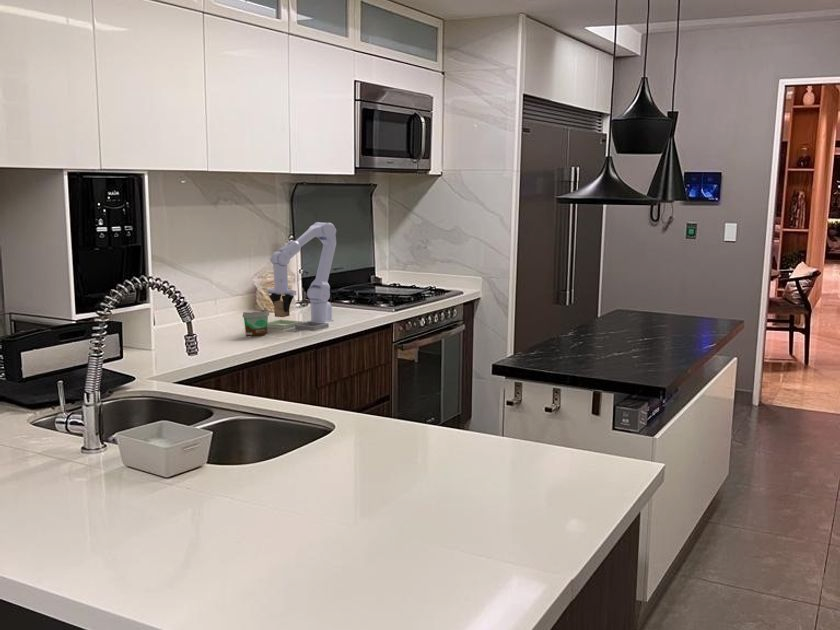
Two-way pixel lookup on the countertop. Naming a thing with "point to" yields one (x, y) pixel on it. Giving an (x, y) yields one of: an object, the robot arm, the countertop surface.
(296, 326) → the grey tray
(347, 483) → the countertop surface
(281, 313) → the walnut block
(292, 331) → the slate coaster
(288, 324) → the green tray
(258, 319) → the food container
